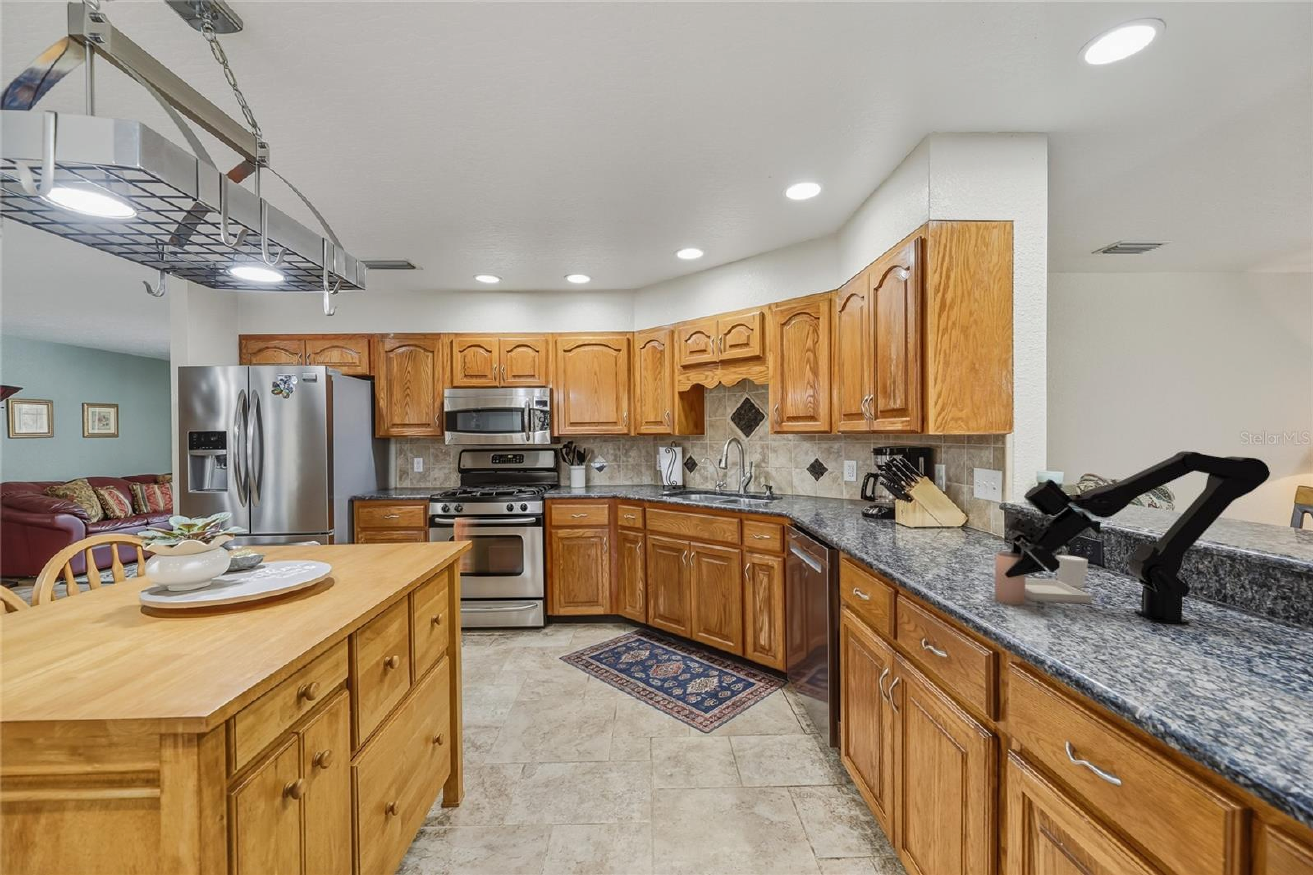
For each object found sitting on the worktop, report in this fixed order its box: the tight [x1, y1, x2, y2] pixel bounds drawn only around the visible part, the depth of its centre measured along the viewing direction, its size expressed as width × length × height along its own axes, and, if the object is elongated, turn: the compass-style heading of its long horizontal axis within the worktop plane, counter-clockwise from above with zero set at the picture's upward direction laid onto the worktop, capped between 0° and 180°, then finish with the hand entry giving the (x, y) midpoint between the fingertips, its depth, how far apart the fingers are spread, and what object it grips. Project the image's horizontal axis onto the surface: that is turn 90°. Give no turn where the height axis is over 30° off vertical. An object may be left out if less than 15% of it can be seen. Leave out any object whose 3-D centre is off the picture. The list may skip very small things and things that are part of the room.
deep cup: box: [994, 551, 1027, 606], centre depth 127 cm, size 6×6×11 cm
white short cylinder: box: [1055, 554, 1089, 588], centre depth 142 cm, size 7×7×7 cm
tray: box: [1025, 578, 1093, 605], centre depth 132 cm, size 13×13×2 cm
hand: (1003, 572), depth 127 cm, fingers closed on deep cup, 6 cm apart
